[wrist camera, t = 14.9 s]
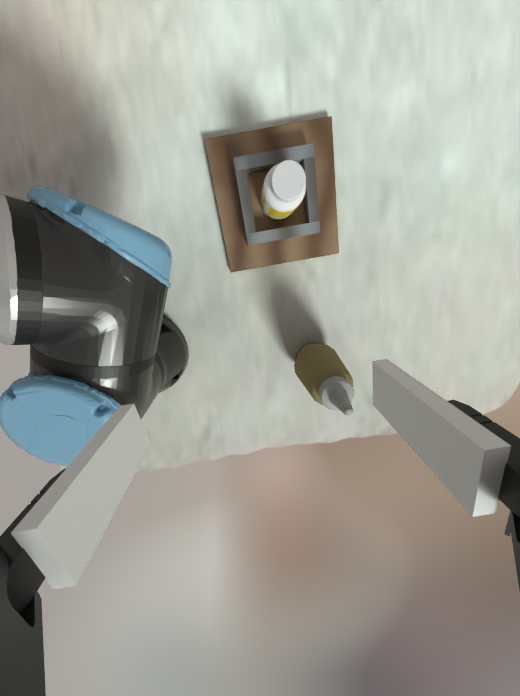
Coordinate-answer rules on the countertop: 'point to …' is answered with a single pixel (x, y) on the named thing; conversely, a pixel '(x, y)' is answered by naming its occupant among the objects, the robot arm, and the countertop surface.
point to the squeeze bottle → (325, 377)
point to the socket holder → (246, 186)
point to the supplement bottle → (283, 189)
